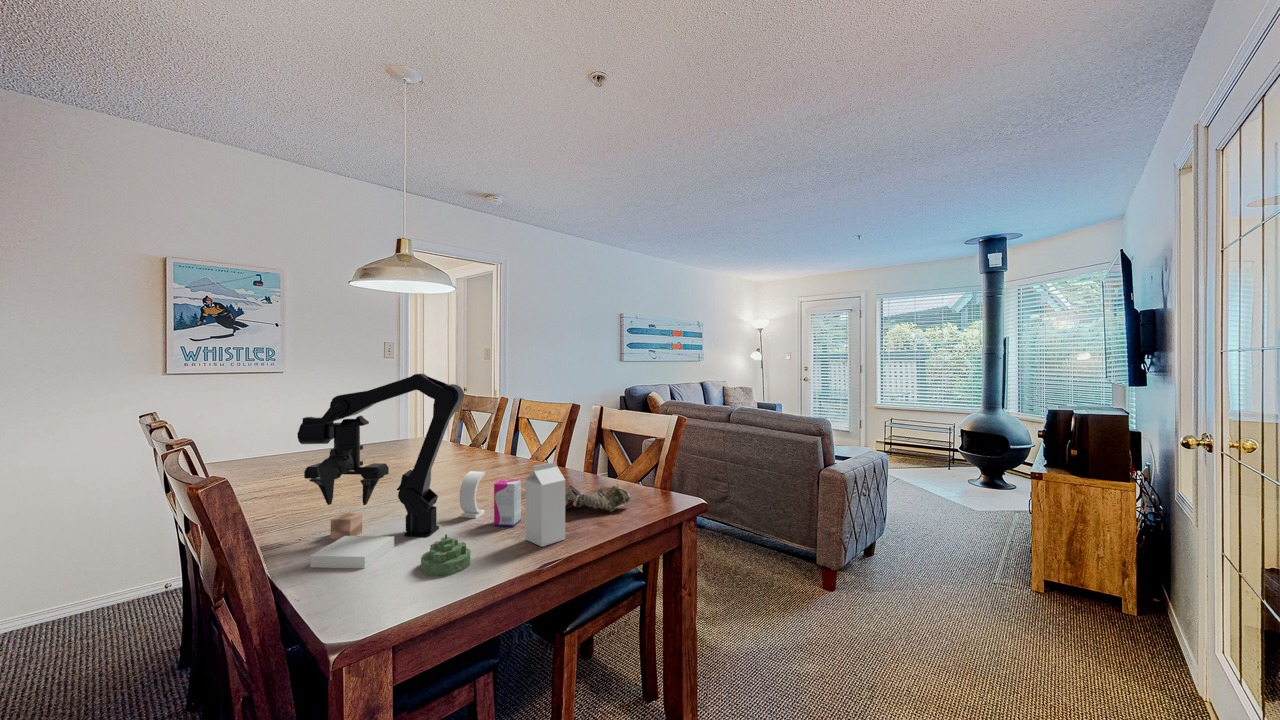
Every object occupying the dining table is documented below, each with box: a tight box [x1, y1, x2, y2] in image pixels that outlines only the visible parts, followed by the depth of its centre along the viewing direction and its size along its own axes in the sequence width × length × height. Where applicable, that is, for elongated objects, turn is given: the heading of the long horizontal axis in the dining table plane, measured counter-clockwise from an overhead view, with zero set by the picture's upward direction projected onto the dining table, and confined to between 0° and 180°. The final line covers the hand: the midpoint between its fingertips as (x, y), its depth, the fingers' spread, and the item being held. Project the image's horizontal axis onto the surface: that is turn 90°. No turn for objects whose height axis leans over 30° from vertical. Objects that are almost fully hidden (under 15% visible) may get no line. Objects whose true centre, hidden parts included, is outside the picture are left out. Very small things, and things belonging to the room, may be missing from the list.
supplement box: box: [493, 479, 522, 528], centre depth 136 cm, size 6×6×12 cm
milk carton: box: [524, 461, 566, 547], centre depth 123 cm, size 7×7×19 cm
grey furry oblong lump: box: [565, 482, 632, 514], centre depth 149 cm, size 25×16×8 cm, turn 115°
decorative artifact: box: [420, 534, 471, 577], centre depth 108 cm, size 10×7×10 cm
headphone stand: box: [459, 470, 486, 519], centre depth 142 cm, size 5×6×12 cm
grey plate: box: [309, 535, 395, 569], centre depth 112 cm, size 12×12×2 cm
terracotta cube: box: [330, 512, 363, 540], centre depth 126 cm, size 5×5×5 cm
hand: (347, 504), depth 126 cm, fingers open, 9 cm apart
